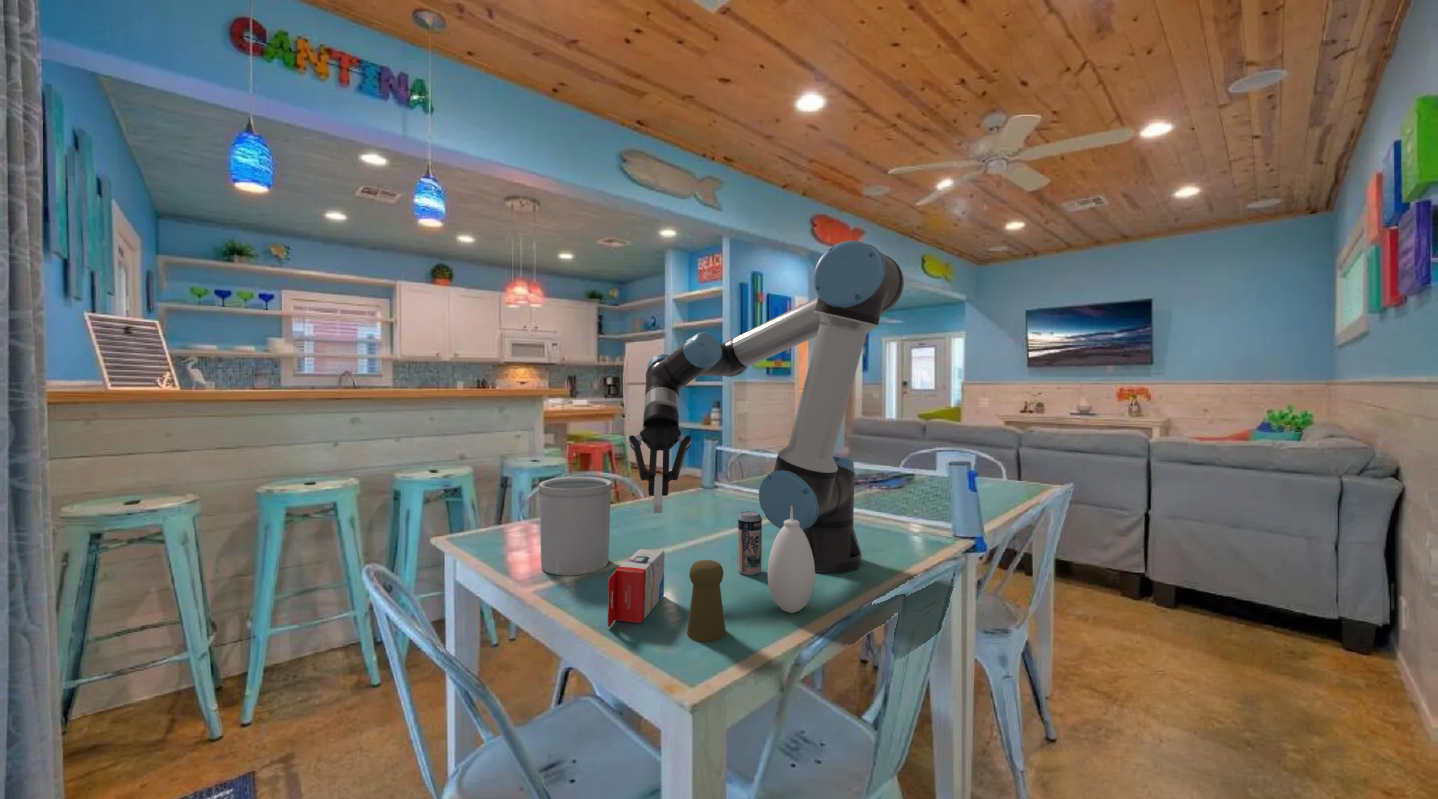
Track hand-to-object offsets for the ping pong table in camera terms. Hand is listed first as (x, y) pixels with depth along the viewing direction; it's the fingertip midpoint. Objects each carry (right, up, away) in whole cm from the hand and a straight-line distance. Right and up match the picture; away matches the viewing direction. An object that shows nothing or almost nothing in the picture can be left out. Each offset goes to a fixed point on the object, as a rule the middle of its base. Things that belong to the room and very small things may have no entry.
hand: (657, 509), depth 103 cm
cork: (+9, -16, -18) cm, 26 cm away
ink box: (-1, -11, -3) cm, 11 cm away
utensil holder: (-19, -15, +13) cm, 27 cm away
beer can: (+18, -15, +9) cm, 25 cm away
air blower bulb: (+24, -15, -10) cm, 30 cm away
